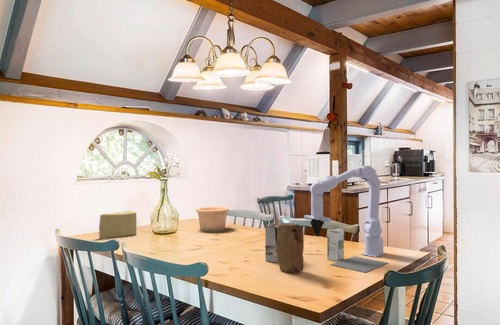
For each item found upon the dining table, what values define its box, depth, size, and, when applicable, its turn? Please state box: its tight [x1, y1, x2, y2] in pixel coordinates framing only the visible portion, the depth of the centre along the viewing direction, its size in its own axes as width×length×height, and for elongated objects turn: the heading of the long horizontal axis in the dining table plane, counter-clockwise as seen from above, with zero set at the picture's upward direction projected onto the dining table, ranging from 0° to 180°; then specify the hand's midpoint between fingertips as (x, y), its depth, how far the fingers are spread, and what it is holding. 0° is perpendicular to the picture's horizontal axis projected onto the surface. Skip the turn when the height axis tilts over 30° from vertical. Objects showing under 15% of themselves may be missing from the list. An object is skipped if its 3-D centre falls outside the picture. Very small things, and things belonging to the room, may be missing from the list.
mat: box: [330, 256, 389, 274], centre depth 174 cm, size 20×17×1 cm
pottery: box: [195, 206, 229, 233], centre depth 262 cm, size 22×22×14 cm
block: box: [277, 222, 305, 274], centre depth 165 cm, size 11×8×20 cm
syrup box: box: [326, 227, 345, 262], centre depth 183 cm, size 6×6×14 cm
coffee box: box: [264, 223, 279, 263], centre depth 183 cm, size 9×6×16 cm
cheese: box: [98, 210, 137, 240], centre depth 243 cm, size 22×10×15 cm, turn 133°
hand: (317, 235), depth 190 cm, fingers closed
